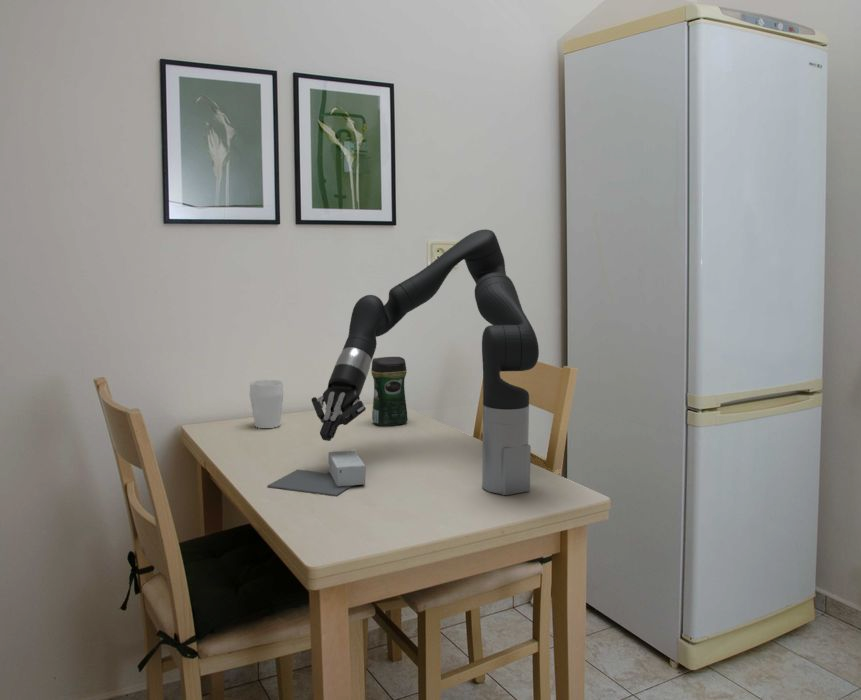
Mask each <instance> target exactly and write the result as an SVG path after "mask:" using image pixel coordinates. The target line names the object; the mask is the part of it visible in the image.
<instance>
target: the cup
mask: <svg viewBox="0 0 861 700" xmlns="http://www.w3.org/2000/svg"><path fill="white" fill-rule="evenodd" d="M283 384H284V382H283V381H282V380H276V379H263V380H261V379H260V380H255V381H251V382H249V398H250V403H251V410H252V415H253V420H254V426H256V427H255V428H257V427H258V428H257V429H260V428H272V429H275V428H274V427H276V428H279V427H280V426H281V422H282V411H283V403H284V396H285V395H284V393H285V391H284V385H283ZM278 426H279V427H278Z"/></svg>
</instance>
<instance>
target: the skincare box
mask: <svg viewBox="0 0 861 700" xmlns="http://www.w3.org/2000/svg"><path fill="white" fill-rule="evenodd" d="M327 456H328V460H327V461H328V473H330V474H331V475H332V477H333V479H334V481H335V483H336V485H337V487H341V486H352V485H353V486H360V485H361V486H362V485H366V464H365V463H364V461H363V460H362V458H360V456H359V454H358V453H357V451H356V450H353V449H352V450H342V451H341V450H340V451H338V450H337V451H329V452H328V453H327ZM353 486H352V487H353Z"/></svg>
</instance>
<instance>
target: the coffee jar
mask: <svg viewBox="0 0 861 700" xmlns="http://www.w3.org/2000/svg"><path fill="white" fill-rule="evenodd" d="M406 363H407V362H406V360H405V358H404V357H401V356H384V357H375V358H374V357H373V358H372V361H371V368H370V369H371V370H370V373H371V376H372V379H373V385H374V387H373V400H372V402H373V403H372V410H371V411H372V414H371V417H372V418H371V420H372V421H371V422H372V423H373V424H374V425H376V426H378V425H379V426H382V427H383V426H384V427H387V426H389V427H390V426H398V425H404V424H405V423H407V422H408V420H409V419H408V418H409V417H408V410H407V409H408V408H407V401H406V392H405V379H406V376H407V373H408V372H407V370H408V369H407V364H406Z"/></svg>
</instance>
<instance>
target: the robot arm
mask: <svg viewBox="0 0 861 700" xmlns="http://www.w3.org/2000/svg"><path fill="white" fill-rule="evenodd" d="M498 240H499V239H498V238H497V235H496V234H495V232H494V231H493V230H492V229H486V228H485V229H479V230H476V231H474V232H472V233H470V234H468V235H466V236H464V237H463V238H462V239H460V240H459V241H457V243H456V244H454V245H452V247H450V248H449V249H447V250H446V251H445V252H443V253H441V255H440V256H439V257H437V258H436V259H434V260H433V262H431V263H430V264H428V266H426V267H425V268H423V269H422V270H420V271H419V272H417V273H415V274H414V275H412V276H410V277H409V278H406V279H405V280H404V281H401V282H400V283H398V284H397V285H395V286H393V287H392V288H391V289H390V290H388V291H389V292H388V299H387V302H385V304H384V302H383V300H381V298H380V297H379V296H377V295H375V294H367V295H364V296H363V297H361V298H359V299H358V300H357V301H356V302H355V304H354V307H353V309H352V312H351V316H350V322H349V329H348V337H347V338H346V340H345V344H344V345H343V347H342V351H341V353H340V354H339V356H338V358H337V361H336V362H335V365H334V367H333V370H332V373H331V374H330V377H329V380H328V384H327V387H326V389H325V390H324V392H323V393H322V396H319V397H316V396H313V397H312V398H311V399H310V400H311V402H312V405H313V409H314V411H315V413H316V416H317V418H318V419H319V420H320V422H321V423H322V426H321V428H320V431H319V435H320V437H321V439H322V440H323V441H327V442H330V441H332V439H333V438H334V437H335V435H336V432H337V429H338V427H340V426H342V425H343V426H346V425H349V424H350V423H351V422H352V421H353V420H355V419H356V418H357V417H359V416H360V415H362V413H364V412H365V411H366V410H367V408H366V406H365V405H364V402H363V401H362V400H360V395H361V393H362V392H363V391H362V390H363V388H364V385H365V383H366V380H367V377H368V375H369V372H370V369H371V365H372V360H373V359H374V355H375V352H376V349H377V338H378V337H380V336H383V335H385V334H387V333H389V332H390V330H392V329H393V328H395V326H396V325H397V324H398V323H399V322H400V321H401V320H402V319H403V318H404V317H405V316H406V315H407V314H408V313H409V312H411V311H413V310H415V309H417V308H419V307H420V306H422V305H424V304H425V303H427V302H428V301H430V300H431V299H432V298H433V297H434V296H435V295H436V294H437V293H438V291H439V289H440V288H441V286H442V285H443V284H444V282H445V280H446V279H447V277H448V276H449V274H450V273H451V272H452V270H453V269H454V268H455V267H456V266H457V265H458V264H460V263H461V262H462V261H464V262H465V265H466V267H467V269H468V272H469V274H470V276H471V278H472V279H473V281H474V282H475V287H474V298H475V303H476V307H477V310H478V312H479V315H481V317H482V318H483V319H484V320H485V321H486V322H487V323H489V324H490V325H487V326H485V328H484V330H483V332H482V335H481V356H482V357H481V359H482V360H481V361H482V382H483V383H482V451H481V452H482V456H481V457H482V460H481V461H482V463H481V465H482V467H481V468H482V469H481V470H482V473H481V475H482V476H481V477H482V479H481V480H482V481H481V482H482V486H481V487H482V488H483V490H485V491H487V492H489V493H495V494H499V495H502V496H509V495H515V494H520V493H526V492H530V491H531V444H529V428H530V426H529V423H530V422H529V421H530V420H529V419H530V394H529V392H528V390H526V389H525V388H522V387H520V386H516V385H514V384H511V383H508V382H507V381H505V380H503V378H501V372H525V371H529V370H532V369H533V368H534V367H535V366H536V365H537V363H538V360H539V355H540V353H539V352H540V349H539V342H538V339H537V335H536V332H535V330H534V328H533V326H532V324H531V323H530V321H529V319H528V317H527V316H526V314H525V312H524V310H523V308H522V304H521V302H520V299H519V295H518V291H517V289H516V287H515V285H514V282H513V281H512V279H511V278H510V277H509V276H508V275H507V271H506V264H505V257H504V254H503V252H502V250H501V246H500V243H499V241H498ZM324 405H325V412H324V410H323V408H324Z"/></svg>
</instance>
